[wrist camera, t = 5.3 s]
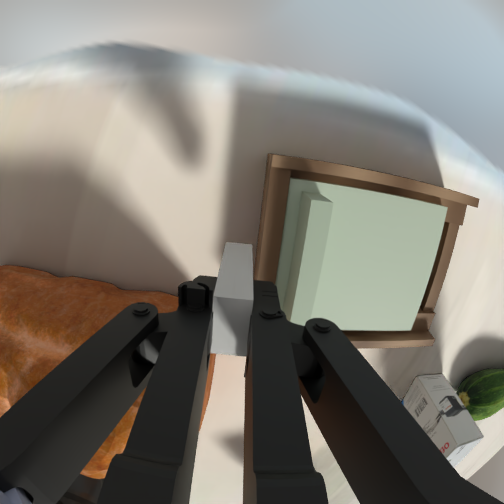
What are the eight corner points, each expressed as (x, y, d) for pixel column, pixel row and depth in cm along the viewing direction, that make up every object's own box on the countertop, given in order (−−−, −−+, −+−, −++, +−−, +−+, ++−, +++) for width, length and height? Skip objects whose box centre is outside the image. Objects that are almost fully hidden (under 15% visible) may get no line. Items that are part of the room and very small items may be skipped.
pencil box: (249, 309, 26) (249, 344, 21) (267, 153, 21) (272, 154, 16) (409, 317, 26) (432, 345, 22) (444, 187, 22) (479, 198, 17)
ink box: (416, 416, 32) (445, 478, 21) (388, 420, 32) (415, 487, 21) (444, 372, 29) (486, 435, 18) (416, 374, 29) (457, 446, 18)
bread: (-4, 253, 24) (-98, 317, 9) (222, 292, 25) (196, 451, 11) (20, 351, 28) (-40, 426, 14) (212, 400, 30) (197, 526, 15)
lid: (268, 320, 22) (271, 351, 18) (288, 177, 18) (298, 184, 15) (406, 325, 22) (426, 351, 19) (441, 205, 19) (472, 217, 15)
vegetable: (487, 414, 22) (548, 390, 23) (476, 363, 27) (538, 353, 28) (449, 431, 27) (518, 407, 29) (442, 385, 32) (510, 373, 34)
